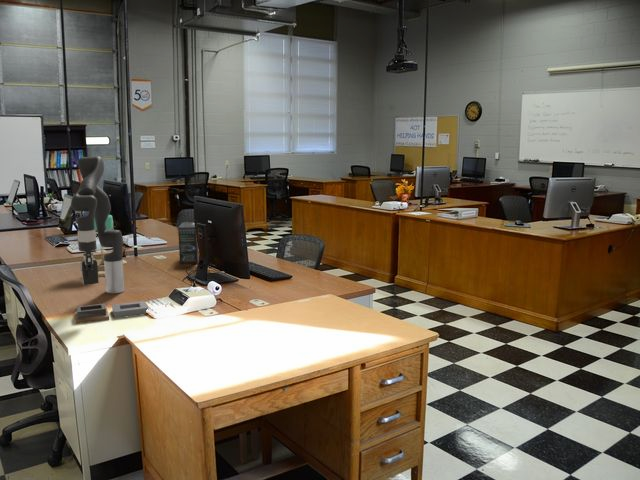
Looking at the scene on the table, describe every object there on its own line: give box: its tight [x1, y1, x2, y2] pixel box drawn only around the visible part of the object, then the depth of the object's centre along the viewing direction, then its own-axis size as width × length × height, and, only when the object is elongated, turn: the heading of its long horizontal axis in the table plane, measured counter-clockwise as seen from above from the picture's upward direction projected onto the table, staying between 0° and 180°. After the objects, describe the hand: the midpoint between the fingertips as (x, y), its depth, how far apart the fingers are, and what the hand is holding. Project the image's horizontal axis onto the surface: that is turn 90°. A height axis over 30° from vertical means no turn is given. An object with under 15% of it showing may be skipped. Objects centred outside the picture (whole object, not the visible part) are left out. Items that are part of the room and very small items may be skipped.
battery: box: [80, 258, 99, 286], centre depth 256 cm, size 7×4×11 cm, turn 125°
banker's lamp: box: [94, 214, 115, 278], centre depth 339 cm, size 16×21×35 cm
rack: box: [74, 303, 110, 325], centre depth 260 cm, size 14×14×4 cm
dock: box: [111, 300, 149, 319], centre depth 267 cm, size 12×15×3 cm
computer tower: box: [177, 221, 199, 264], centre depth 375 cm, size 22×12×26 cm, turn 6°
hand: (89, 276), depth 257 cm, fingers closed on battery, 4 cm apart
